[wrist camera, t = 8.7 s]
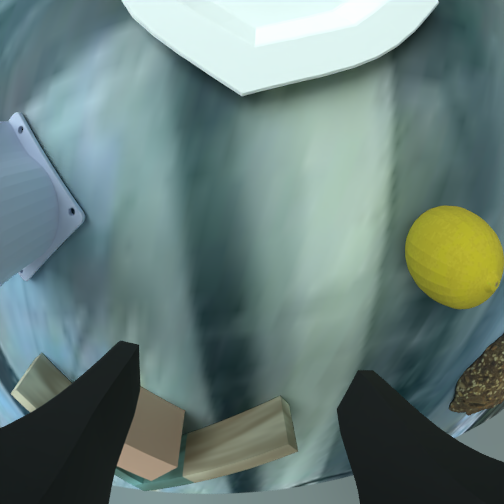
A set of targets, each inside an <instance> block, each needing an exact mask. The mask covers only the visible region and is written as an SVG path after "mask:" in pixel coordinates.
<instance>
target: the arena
mask: <svg viewBox="0 0 504 504" xmlns="http://www.w3.org/2000/svg"><path fill="white" fill-rule="evenodd" d="M71 384H72V383H71V382H70V381H69V380H68V379H67V378H66V377H65V376H64V375H63V374H62V373H61V372H60V371H59V370H58V369H57V368H56V367H55V366H54V365H53V364H52V363H51V362H50V361H49V360H48V359H47V358H46V357H45V356H44V355H43V354H42V353H41V354H40V355H39V356H38V357H36V358H35V360H34V361H33V362H32V364H31V365H30V366H29V368H28V369H27V371H26V372H25V374H24V375H23V376H22V378H21V379H20V381H19V382H18V384H17V385H16V387H15V388H14V390H13V391H12V393H11V394H12V395H13V396H14V397H15V398H16V399H17V400H18V401H19V402H20V403H21V404H22V405H23V406H24V407H25V408H26V409H27V410H28V411H29V412H32V411H34V410H35V409H37V408H39V407H40V406H42V405H43V404H45V403H46V402H48V401H49V400H51V399H52V398H54V397H55V396H56V395H58V394H59V393H60V392H62V391H63V390H64V389H65V388H67V387H68V386H69V385H71ZM295 452H298V448H297V443H296V438H295V433H294V427H293V422H292V417H291V412H290V407H289V404H288V403H287V402H286V401H285V400H284V399H283V398H282V397H281V396H278V397H276V398H274V399H272V400H270V401H268V402H266V403H263V404H261V405H259V406H257V407H254V408H252V409H250V410H247V411H245V412H243V413H240V414H238V415H235V416H233V417H231V418H228V419H226V420H223V421H220V422H218V423H215V424H213V425H210V426H207V427H205V428H202V429H199V430H196V431H193V432H191V433H188V434H185V435H182V436H181V444H180V451H179V459H178V467H177V468H175V469H173V470H171V471H169V472H167V473H166V474H164V475H162V476H160V477H158V478H156V479H154V480H152V481H150V480H147V479H145V478H143V477H140V476H138V475H136V474H133V473H131V472H129V471H127V470H124V469H122V468H120V467H118V466H117V467H116V470H115V474H114V475H116V476H118V477H119V478H121V479H123V480H125V481H126V482H128V483H130V484H132V485H134V486H135V487H137V488H139V489H141V490H143V491H149V490H157V489H163V488H169V487H175V486H181V485H186V484H191V483H196V482H200V481H205V480H209V479H213V478H217V477H221V476H225V475H229V474H232V473H236V472H239V471H243V470H246V469H249V468H253V467H256V466H259V465H262V464H265V463H268V462H271V461H274V460H276V459H279V458H282V457H285V456H287V455H290V454H292V453H295Z"/></svg>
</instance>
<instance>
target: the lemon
mask: <svg viewBox="0 0 504 504" xmlns="http://www.w3.org/2000/svg"><path fill="white" fill-rule="evenodd" d="M405 258H406V262H407V267H408V270H409V272H410V274H411V276H412V277H413V279H414V281H415V283H416V284H417V285H418V287H419V288H420V289H421V290H422V291H424V292H425V293H426V294H427V295H428V296H429V297H430V298H432V299H433V300H435V301H437V302H439V303H441V304H443V305H446V306H449V307H451V308H455V309H469V308H472V307H475V306H478V305H480V304H482V303H483V302H485V301H486V300H487V299H488V298H489V297H490V296H491V295H492V294H493V293H494V292H495V290H496V289H497V288H498V286H499V283H500V281H501V278H502V274H503V269H504V256H503V249H502V246H501V243H500V241H499V239H498V236H497V235H496V233H495V232H494V231H493V230H492V228H491V227H490V226H489V225H488V224H487V223H486V222H485V221H484V220H483V219H482V218H480V217H479V216H478V215H476V214H474V213H472V212H470V211H468V210H466V209H464V208H461V207H457V206H439V207H436V208H432V209H430V210H428V211H426V212H425V213H423V214H422V215H420V216H419V218H418V219H417V220H416V221H415V222H414V224H413V225H412V227H411V228H410V231H409V233H408V236H407V239H406V244H405Z"/></svg>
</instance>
